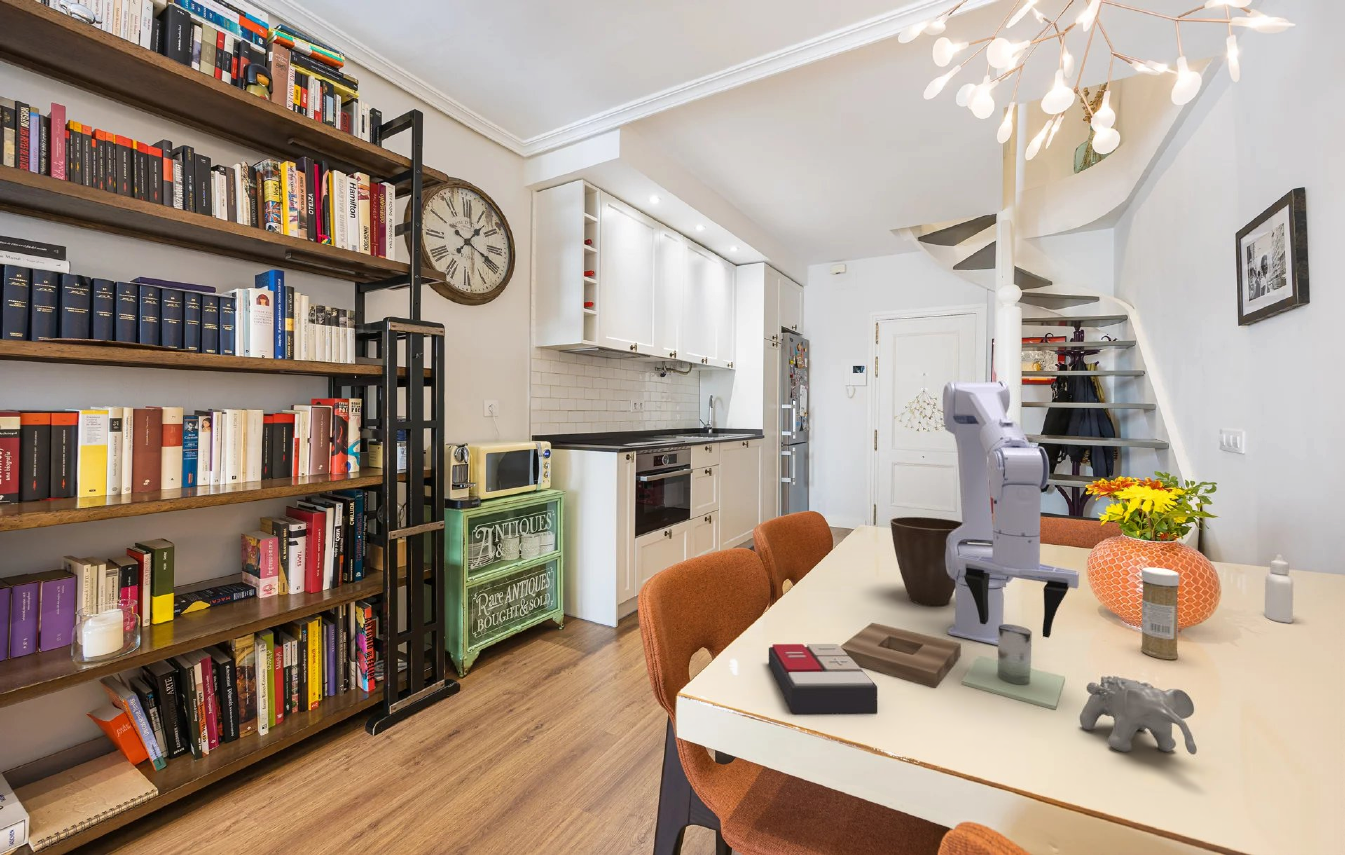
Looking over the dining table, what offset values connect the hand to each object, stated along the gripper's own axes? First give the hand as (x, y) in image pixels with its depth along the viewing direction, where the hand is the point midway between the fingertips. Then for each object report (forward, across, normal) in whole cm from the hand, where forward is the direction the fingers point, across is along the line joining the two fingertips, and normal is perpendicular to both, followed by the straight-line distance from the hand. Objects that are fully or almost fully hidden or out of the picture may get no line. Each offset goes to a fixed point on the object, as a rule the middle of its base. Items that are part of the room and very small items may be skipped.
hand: (1014, 628), depth 81 cm
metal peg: (+7, 0, 0) cm, 7 cm away
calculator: (+8, -21, -19) cm, 29 cm away
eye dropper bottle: (+8, +34, +62) cm, 71 cm away
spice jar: (+8, +16, +26) cm, 31 cm away
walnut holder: (+8, -15, -2) cm, 17 cm away
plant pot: (+8, -20, +31) cm, 38 cm away
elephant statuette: (+8, +14, -10) cm, 19 cm away
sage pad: (+8, 0, 0) cm, 8 cm away
